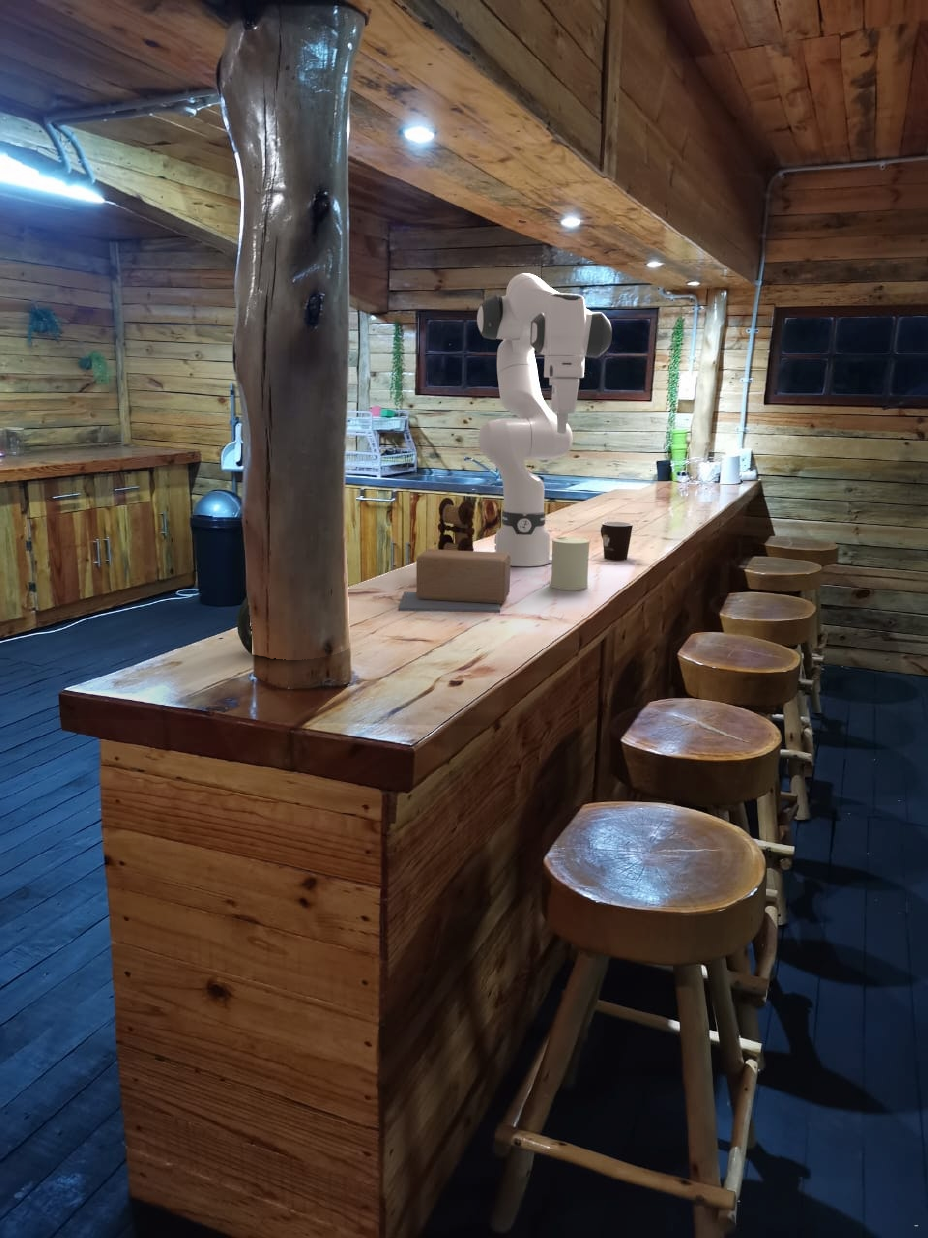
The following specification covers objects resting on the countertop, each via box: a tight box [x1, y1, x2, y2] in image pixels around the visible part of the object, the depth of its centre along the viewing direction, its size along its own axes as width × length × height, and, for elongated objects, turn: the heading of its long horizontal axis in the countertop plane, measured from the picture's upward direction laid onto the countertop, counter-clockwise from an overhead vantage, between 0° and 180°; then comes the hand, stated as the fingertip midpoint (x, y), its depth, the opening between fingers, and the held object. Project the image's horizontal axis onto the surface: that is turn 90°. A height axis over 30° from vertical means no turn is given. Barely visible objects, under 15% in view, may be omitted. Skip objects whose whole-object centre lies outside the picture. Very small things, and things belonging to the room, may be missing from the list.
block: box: [415, 548, 511, 604], centre depth 202 cm, size 10×10×20 cm
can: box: [549, 536, 591, 592], centre depth 217 cm, size 9×9×12 cm
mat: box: [397, 590, 501, 613], centre depth 201 cm, size 16×22×1 cm
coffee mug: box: [600, 521, 634, 562], centre depth 255 cm, size 12×9×10 cm
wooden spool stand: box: [437, 497, 475, 551], centre depth 224 cm, size 15×15×20 cm
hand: (561, 433), depth 202 cm, fingers closed
